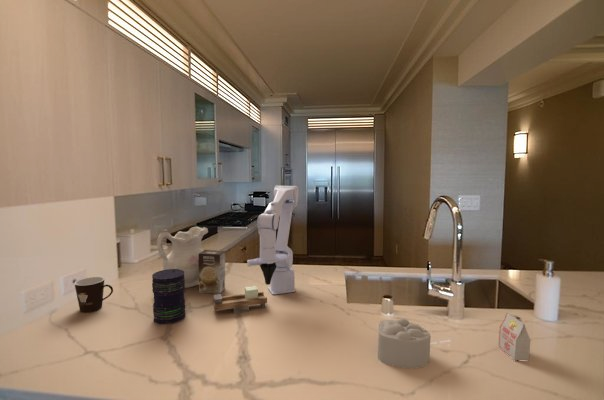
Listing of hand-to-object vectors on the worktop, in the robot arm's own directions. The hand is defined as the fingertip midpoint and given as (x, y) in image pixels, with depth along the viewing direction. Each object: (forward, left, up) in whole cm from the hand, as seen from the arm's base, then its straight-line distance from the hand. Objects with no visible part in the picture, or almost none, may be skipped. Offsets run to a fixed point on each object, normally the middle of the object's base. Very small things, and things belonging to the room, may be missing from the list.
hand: (267, 283), depth 113 cm
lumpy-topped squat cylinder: (-26, +43, -8) cm, 51 cm away
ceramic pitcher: (+28, -32, -8) cm, 44 cm away
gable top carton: (-55, +52, -8) cm, 76 cm away
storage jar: (+33, -1, -8) cm, 34 cm away
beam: (+10, 0, -8) cm, 13 cm away
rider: (+6, 0, -5) cm, 8 cm away
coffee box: (+18, -21, -8) cm, 29 cm away
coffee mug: (+58, -16, -8) cm, 61 cm away
